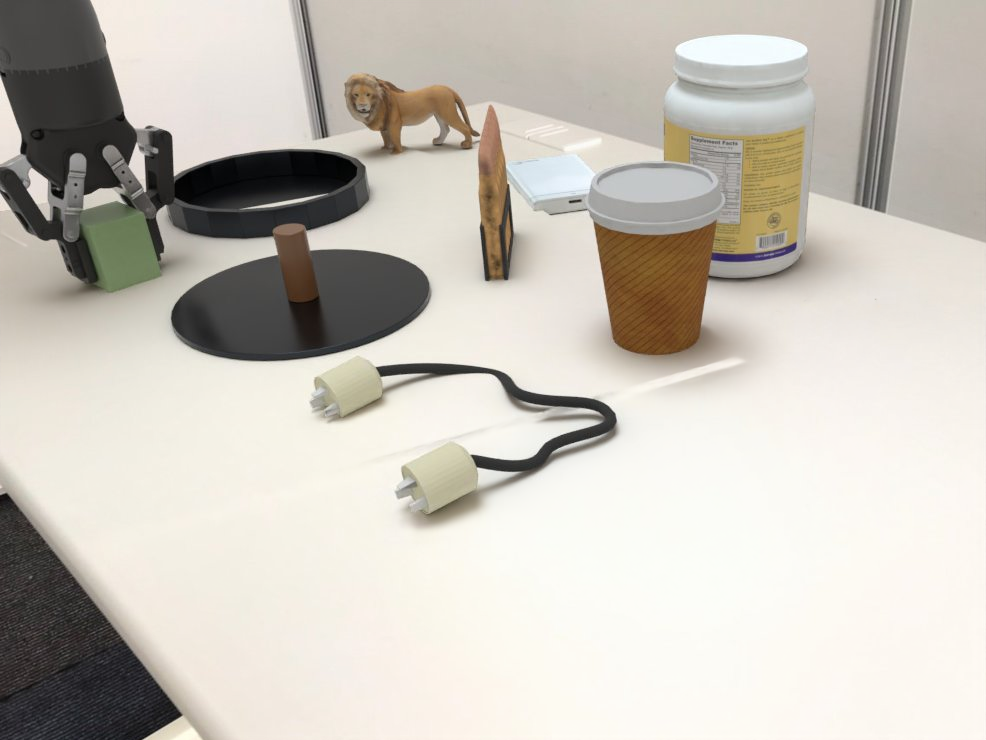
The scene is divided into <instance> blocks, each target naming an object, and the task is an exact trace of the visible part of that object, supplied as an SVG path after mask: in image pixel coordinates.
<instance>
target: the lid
mask: <svg viewBox="0 0 986 740" xmlns="http://www.w3.org/2000/svg"><path fill="white" fill-rule="evenodd" d="M273 235H274V236H273V239H274V245H275V249H276V253H277V254H276V255H271V256H266V257H262V258H257V259H254V260H250V261H247V262H244V263H239V264H237V265H233V266H231V267H228V268H226V269H224V270H221V271H219V272H216V273H215V274H212V275H210V276H208V277H206V278H204V279H202V280H201V281H198V282H197V283H196V284H194V285H193V286H192V287H190V288H189V289H187V290H186V291H185V292H184V293H183V294H182V295H181V296H180V297H179V298H178V299H177V300H176V302H175V304H174V305H173V308H172V310H171V314H170V321H171V325H172V329H173V331H174V334H176V336H177V337H178V338H179V340H180V341H182V342H183V343H185V344H186V345H188V346H189V347H191V348H192V349H195V350H198V351H200V352H203V353H206V354H210V355H213V356H216V357H223V358H228V359H236V360H247V361H282V360H283V361H285V360H293V359H304V358H310V357H311V358H312V357H318V356H323V355H327V354H331V353H336V352H341V351H345V350H349V349H353V348H356V347H359V346H362V345H365V344H369V343H371V342H373V341H376V340H378V339H381V338H383V337H385V336H388V335H390V334H391V333H394V332H396V331H397V330H399V329H401V328H403V327H404V326H406V325H407V324H409V323H410V322H411V321H413V320H414V319H415V318H417V316H419V314H420V313H422V311H423V310H424V309H425V307H426V306H427V305H428V302H429V300H430V296H431V284H430V280H429V278H428V276H427V274H426V273H425V271H424V270H422V269H421V268H420V266H417V265H416V264H414V263H412V262H411V261H409V260H407V259H404V258H401V257H398V256H394V255H392V254H389V253H383V252H379V251H371V250H364V249H352V248H351V249H347V248H345V249H343V248H330V249H329V248H328V249H312V250H311V247H310V243H309V238H308V237H309V236H308V232H307V231H306V228H305V226H304V225H302V224H284V225H281V226H278V227H276V228H274V229H273Z"/></svg>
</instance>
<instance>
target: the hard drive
mask: <svg viewBox="0 0 986 740" xmlns="http://www.w3.org/2000/svg"><path fill="white" fill-rule="evenodd" d="M506 173H507V181H508V182H510V184H511V185H512V187H513V188H514V189H515V190H516V192H517V193H518V194H519V195H521V197H522V198H523V199H524V200H525V202H526V203H527V204H528V206H529V207H530V208H531V209H532V210H533V211H534V212H538V211H539V212H540V211H543V212H545V213H546V214H547V215H554V214H561V213H567V212H568V213H569V212H576V211H582V210H587V208H586V207H585V198H586V196H587V194H588V193H589V191H590V186H591V180H592V179H593V177H594V176H595V175H596V174H598V172H596V171H595V170H594V169H593V168H592V167H591V166H590V165H589V164H587V162H586V161H584V159H582V157H580V156H579V155H578V154H576V153H569V154H568V153H567V154H561V155H560V154H559V155H553V156H552V155H551V156H546V157H537V158H529V159H521V160H514V161H506Z"/></svg>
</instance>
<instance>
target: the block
mask: <svg viewBox="0 0 986 740" xmlns="http://www.w3.org/2000/svg"><path fill="white" fill-rule="evenodd" d="M79 237H80V238H82V239H84V240H85V243H86V246H87V249H88V252H89V255H90V258H91V261H92V264H93V267H94V270H95V273H96V276H97V282H95V283H92V284H91V285H94V286H95V287H98V288H100V289H102V290H103V291H104V292H105V291H106V292H107V293H109V294H112V293H116V292H118V291H121V290H124V289H127V288H131V287H133V286H136V285H139V284H142V283H145V282H148V281H151V280H155V279H157V278H160V277H163V274H162V269H161V267H160V264H159V262H158V260H157V257H156V253H155V250H154V246H153V243H152V239H151V236H150V233H149V229H148V226H147V222H146V219H145V216H144V213H143V212H141V211H139V210H137V209H134V208H132V207H130V206H128V205H126V204H125V203H124V202H120V201H119V200H115V201H111V202H106V203H104V204H101V205H96V206H93V207H90V208H86V209H83V211H82V212H81V213H80V230H79Z"/></svg>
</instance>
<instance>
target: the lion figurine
mask: <svg viewBox="0 0 986 740" xmlns="http://www.w3.org/2000/svg"><path fill="white" fill-rule="evenodd" d="M343 93H344V94H343V95H344V98H345V105H346V108H347V110H348V113H349V114H350V116H351V117H352V118H353V119H354V120H355V121H358V122H361V123H362V124H364V125H365V126H366V128H368V129H369V130H370V131H373V132H379V133H380V136H381V138H382V141H383V145H382V146H381V147H380V150H390V149H393V151H391V152H390V153H389V155H392V156H397V155H400V154H403V146H402V145H403V144H402V140H401V137H402V129H403V127H414V126H419V125H421V124H424V123H425V122H427V121H428V120H430V119H431V118H432V117H434V118H435V120H436V122H437V124H438V126H439V130H440V131H439V135H438V136H437V137H433V139H432V144H433V145H442V144H444V143H445V141H446V138H447V137H448V136H449V133H450V131H451V129H450V128H452V129H454V130H455V131H457V132H458V133H461V134H462V135H463V136H464V140H462V141H461V142H460V147H461V148H463V149H469V148H472V146H473V137H476V138H478V137H481V133H479V132H478V130H475V129H474V128H473V127H472V125H471V121H470V118H469V115H468V112H467V109H466V106H465V104H464V102H463V99H462V98H461V97H460V95H459V94H458V93H457V91H455V90H454V89H453V88H451V87H449V86H447V85H442V84H433V85H430V86H429V85H428V86H427V87H424V88H421V89H416V90H409V91H405V90H404V89H401V88H399V87H397V86H396V85H395V84H393V83H392V82H390V81H389V80H383V79H382V78H381V79H380V78H377V77H376V76H375V75H372V74H370V73H366V72H358V73H355V74H351V76H350V77H348V78H347V81H346V82H344V92H343ZM457 107H458V109H459V110H458V109H457ZM458 111H460V113H461V116H460V115H459V112H458ZM461 117H462V118H463V119H462V118H461Z"/></svg>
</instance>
